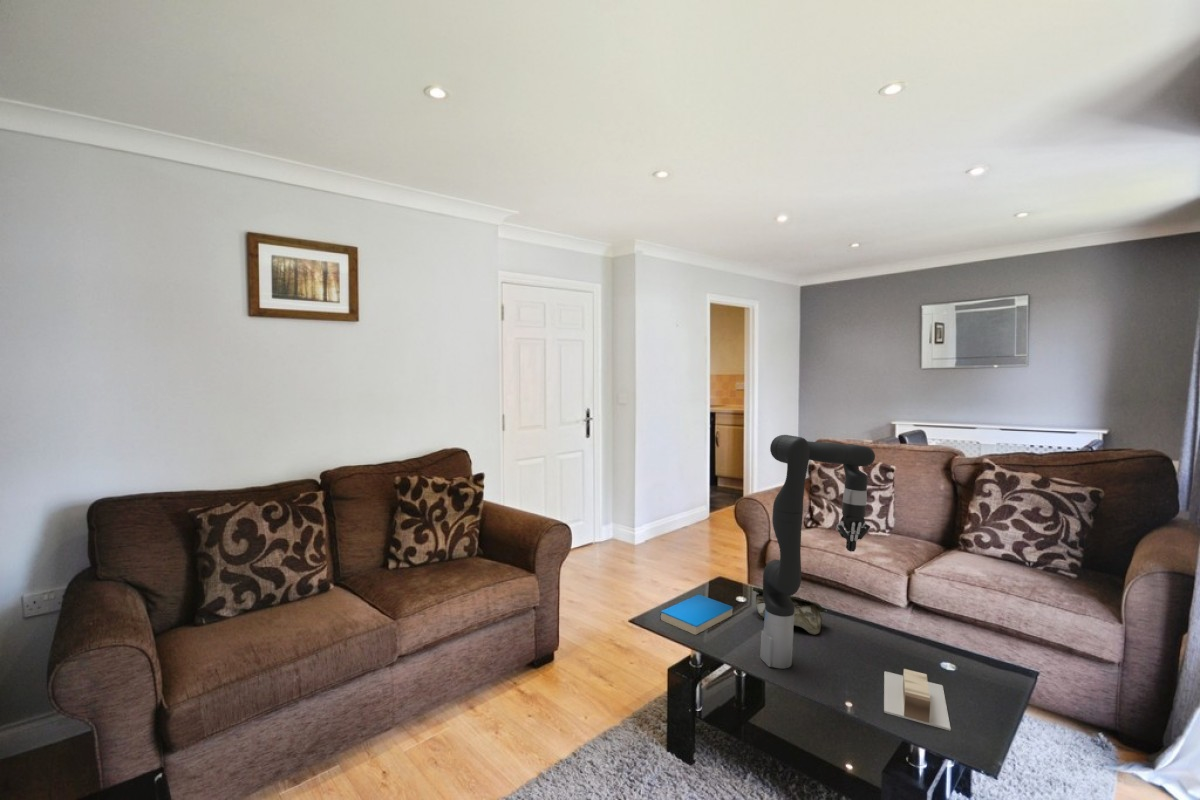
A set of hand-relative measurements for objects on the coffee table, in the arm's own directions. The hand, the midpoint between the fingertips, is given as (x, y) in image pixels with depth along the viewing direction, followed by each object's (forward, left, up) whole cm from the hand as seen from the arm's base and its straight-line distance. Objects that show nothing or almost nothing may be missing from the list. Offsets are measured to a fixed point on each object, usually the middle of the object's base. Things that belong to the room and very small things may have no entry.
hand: (850, 550), depth 193 cm
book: (-44, +30, -35) cm, 63 cm away
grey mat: (-1, -32, -34) cm, 47 cm away
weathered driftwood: (-11, +20, -35) cm, 42 cm away
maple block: (+2, -29, -31) cm, 42 cm away
